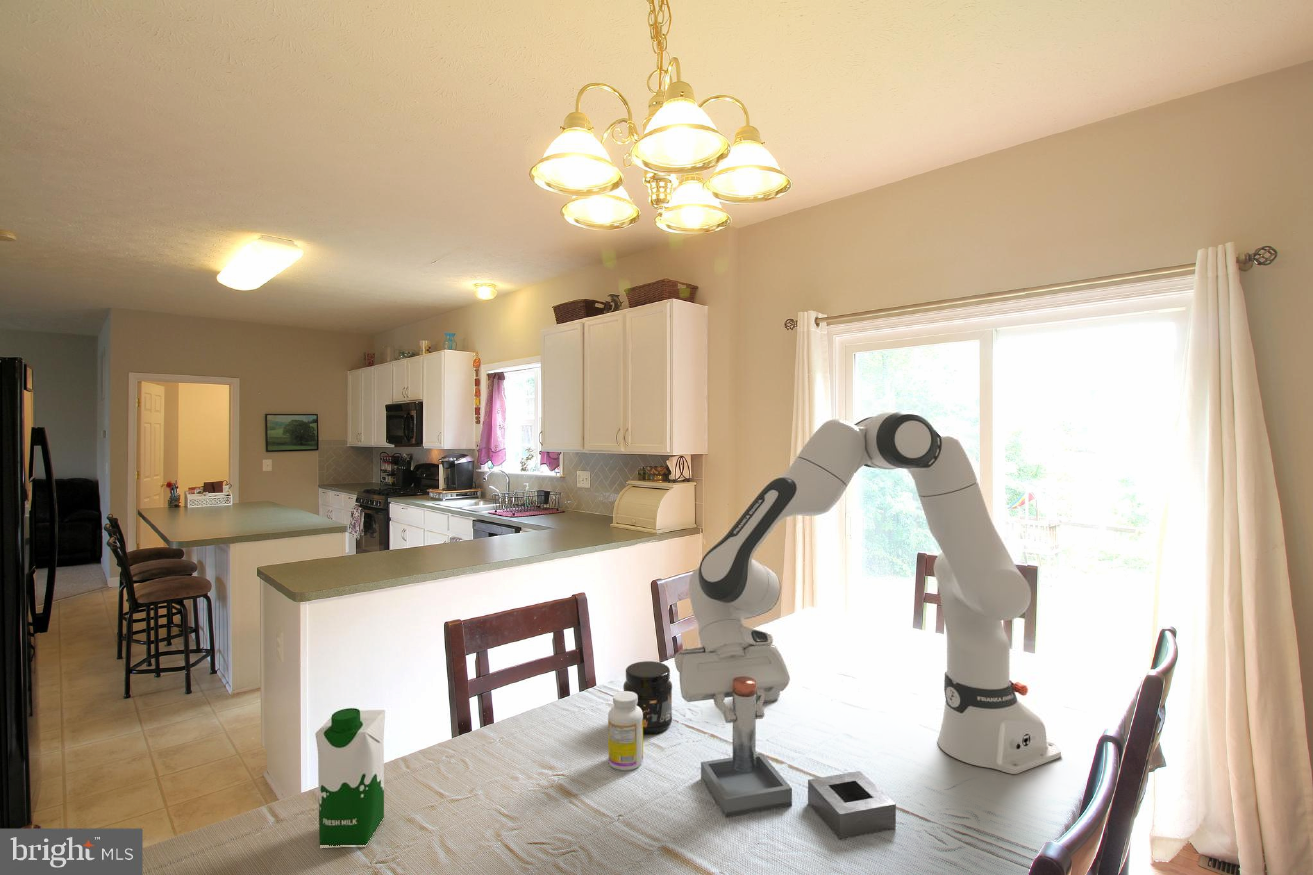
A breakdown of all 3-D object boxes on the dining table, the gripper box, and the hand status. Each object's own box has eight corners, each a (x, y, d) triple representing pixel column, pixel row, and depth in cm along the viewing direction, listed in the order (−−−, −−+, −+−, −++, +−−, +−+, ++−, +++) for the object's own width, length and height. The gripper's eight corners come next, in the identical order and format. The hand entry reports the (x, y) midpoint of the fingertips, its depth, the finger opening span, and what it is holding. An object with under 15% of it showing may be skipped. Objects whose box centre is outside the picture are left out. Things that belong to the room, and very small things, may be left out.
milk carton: (310, 853, 95) (308, 721, 95) (338, 816, 104) (337, 695, 104) (369, 851, 95) (368, 720, 95) (392, 815, 104) (391, 694, 104)
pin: (749, 758, 113) (750, 675, 113) (759, 770, 110) (759, 684, 109) (728, 761, 112) (729, 677, 112) (737, 773, 108) (738, 686, 108)
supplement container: (613, 724, 136) (613, 668, 136) (648, 708, 144) (648, 656, 144) (647, 741, 129) (646, 682, 129) (682, 724, 136) (682, 668, 136)
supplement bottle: (624, 750, 125) (624, 685, 125) (650, 761, 121) (650, 694, 121) (601, 764, 120) (600, 696, 120) (626, 776, 116) (626, 706, 116)
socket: (859, 793, 110) (859, 770, 110) (895, 828, 101) (895, 803, 101) (807, 802, 108) (807, 779, 108) (839, 839, 98) (839, 814, 98)
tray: (761, 768, 118) (761, 752, 118) (791, 805, 107) (791, 788, 107) (701, 778, 115) (700, 761, 115) (725, 817, 104) (725, 799, 104)
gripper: (675, 642, 115) (693, 719, 105) (779, 632, 120) (804, 705, 111) (668, 657, 119) (684, 733, 110) (768, 648, 124) (791, 719, 115)
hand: (745, 719), depth 110 cm, fingers closed on pin, 4 cm apart
